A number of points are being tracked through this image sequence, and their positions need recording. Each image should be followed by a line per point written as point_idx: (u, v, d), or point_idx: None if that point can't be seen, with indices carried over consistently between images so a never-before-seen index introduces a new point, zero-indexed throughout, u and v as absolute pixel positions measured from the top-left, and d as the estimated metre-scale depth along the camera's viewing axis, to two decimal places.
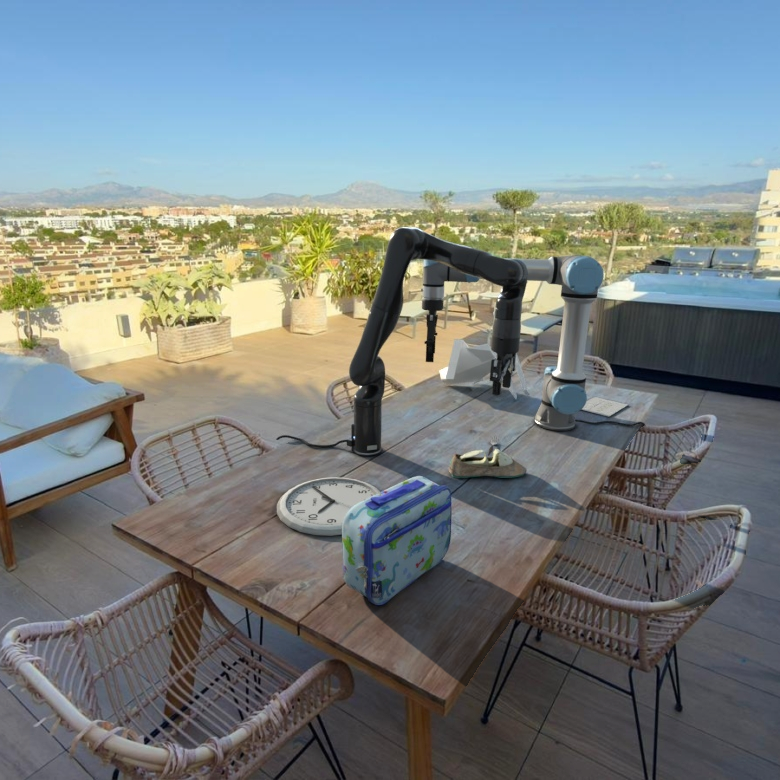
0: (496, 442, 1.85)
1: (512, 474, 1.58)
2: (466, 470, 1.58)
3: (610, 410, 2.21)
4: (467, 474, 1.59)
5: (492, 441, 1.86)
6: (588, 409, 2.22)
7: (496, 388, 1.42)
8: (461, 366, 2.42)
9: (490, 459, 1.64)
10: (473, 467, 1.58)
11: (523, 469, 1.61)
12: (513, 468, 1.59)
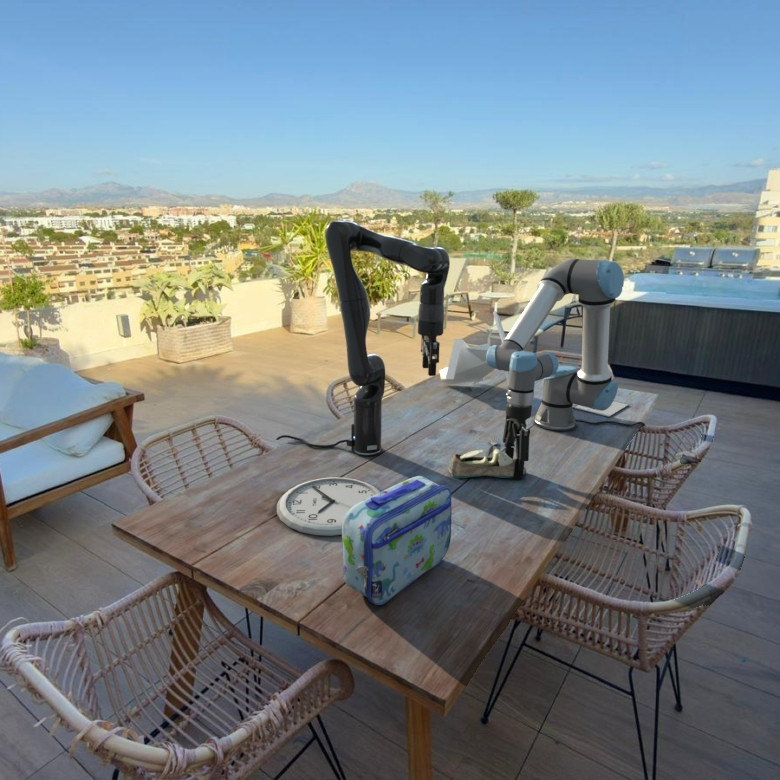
0: (496, 442, 1.85)
1: (512, 474, 1.59)
2: (466, 470, 1.58)
3: (610, 410, 2.21)
4: (467, 474, 1.59)
5: (492, 441, 1.86)
6: (588, 409, 2.22)
7: (433, 369, 1.52)
8: (461, 366, 2.42)
9: (490, 459, 1.64)
10: (473, 467, 1.58)
11: None
12: (513, 468, 1.59)
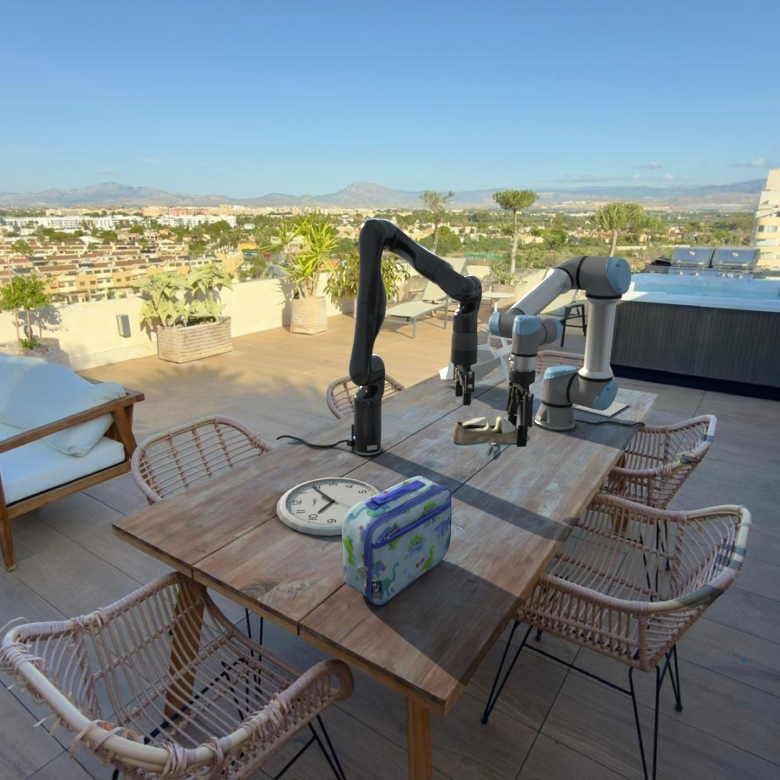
0: None
1: (515, 441, 1.55)
2: (468, 437, 1.55)
3: (610, 410, 2.21)
4: (469, 441, 1.55)
5: None
6: (588, 409, 2.22)
7: (469, 398, 1.49)
8: None
9: (493, 427, 1.61)
10: (475, 434, 1.55)
11: None
12: None
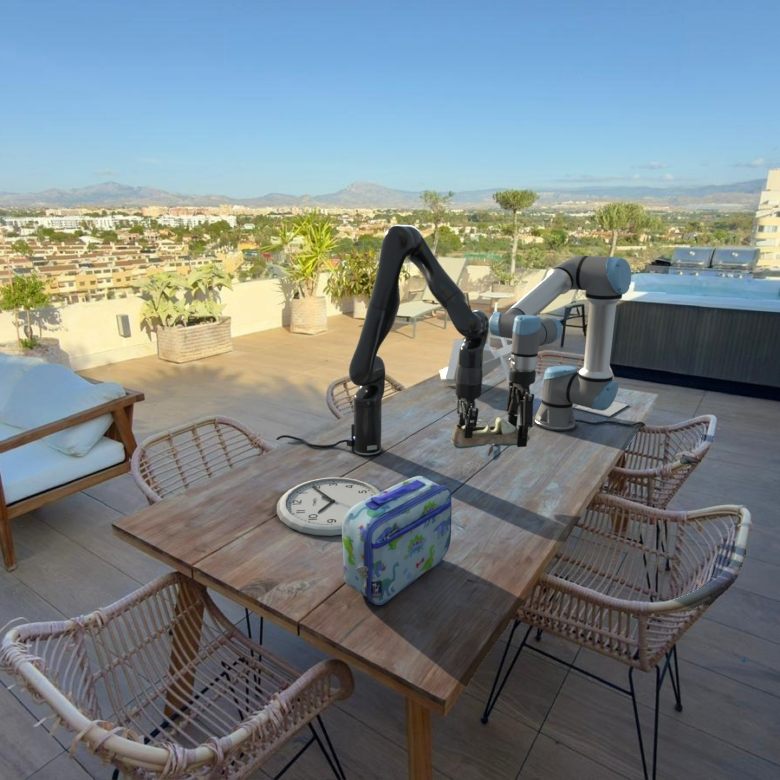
0: None
1: (516, 441, 1.55)
2: (469, 440, 1.55)
3: (610, 410, 2.21)
4: (470, 444, 1.55)
5: None
6: (588, 409, 2.22)
7: (470, 432, 1.52)
8: None
9: (492, 428, 1.61)
10: (476, 436, 1.55)
11: None
12: (517, 436, 1.56)
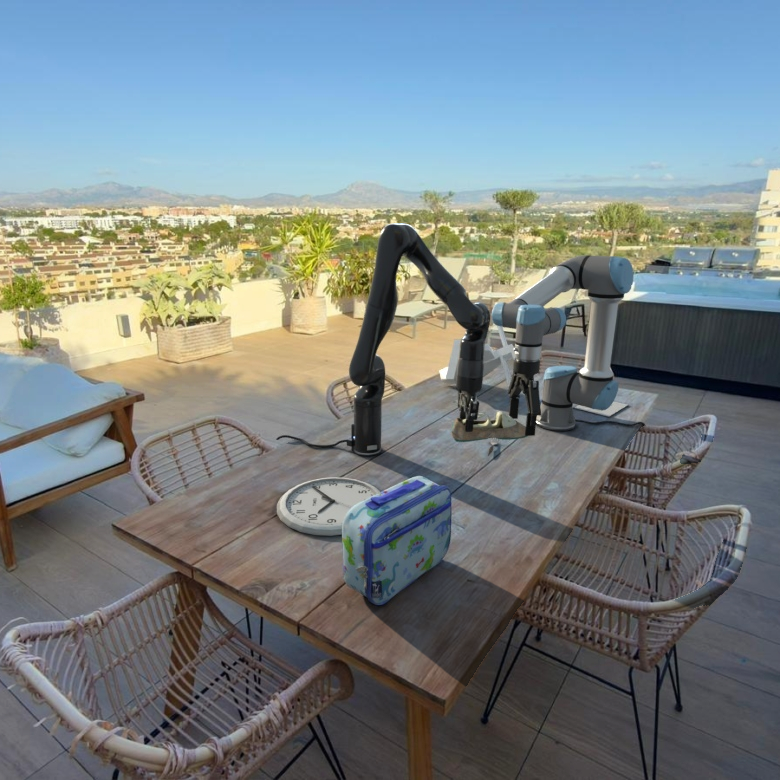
0: (496, 442, 1.85)
1: (516, 435, 1.54)
2: (469, 433, 1.54)
3: (610, 410, 2.21)
4: (470, 438, 1.54)
5: (492, 441, 1.86)
6: (588, 409, 2.22)
7: (471, 425, 1.51)
8: None
9: (493, 422, 1.60)
10: (476, 430, 1.54)
11: None
12: (518, 430, 1.55)
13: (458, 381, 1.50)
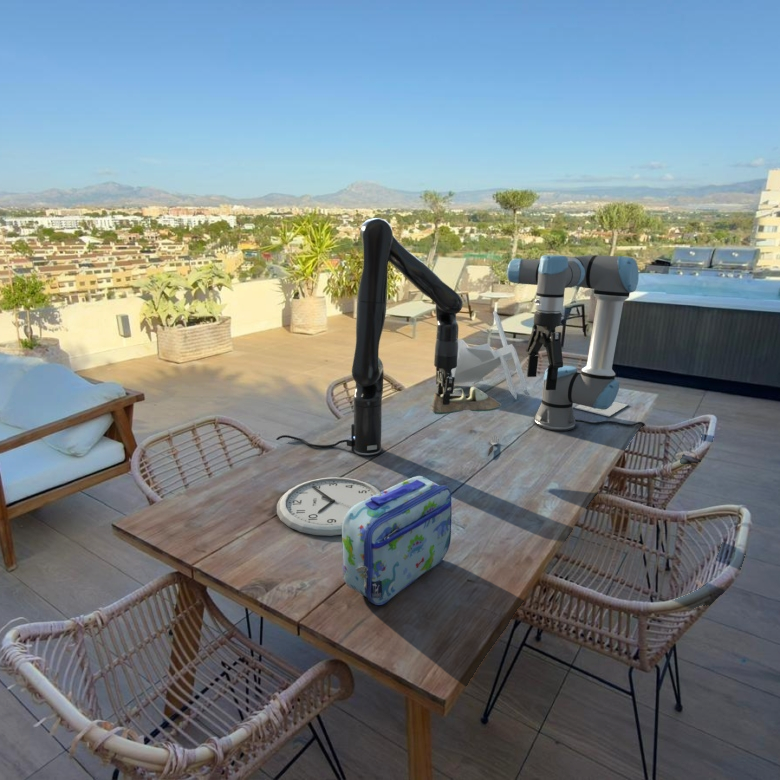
0: (496, 442, 1.85)
1: (488, 407, 1.76)
2: (446, 406, 1.74)
3: (610, 410, 2.21)
4: (448, 410, 1.75)
5: (492, 441, 1.86)
6: (588, 409, 2.22)
7: (448, 399, 1.72)
8: (461, 366, 2.42)
9: (467, 397, 1.81)
10: (453, 403, 1.74)
11: (497, 403, 1.78)
12: (489, 402, 1.76)
13: (436, 360, 1.71)
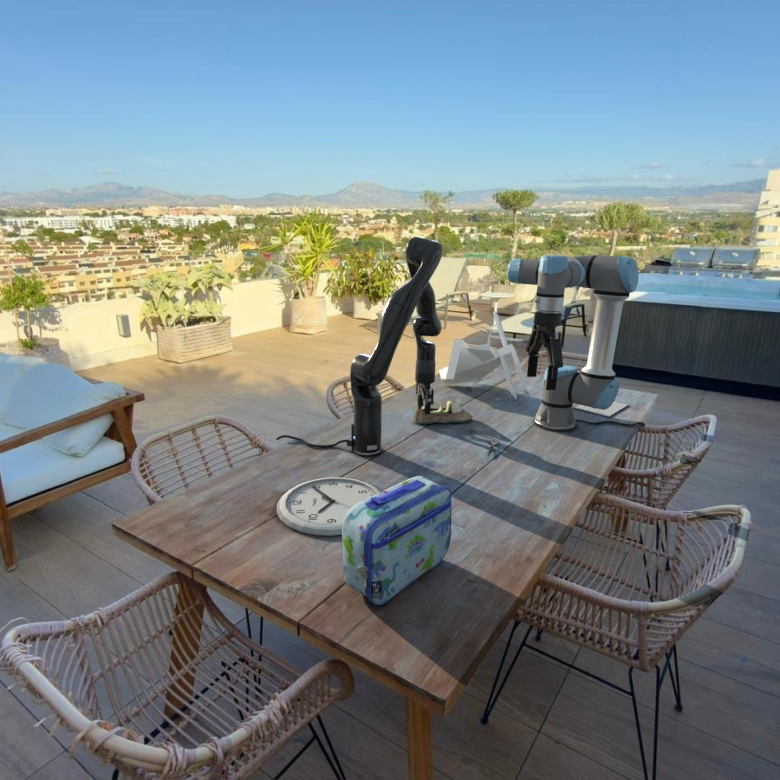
0: (496, 442, 1.85)
1: (462, 419, 2.03)
2: (427, 417, 2.01)
3: (610, 410, 2.21)
4: (427, 421, 2.02)
5: (492, 441, 1.86)
6: (588, 409, 2.22)
7: (429, 409, 1.97)
8: (461, 366, 2.42)
9: (444, 409, 2.08)
10: (432, 415, 2.01)
11: (470, 415, 2.06)
12: (463, 415, 2.04)
13: (416, 376, 1.97)
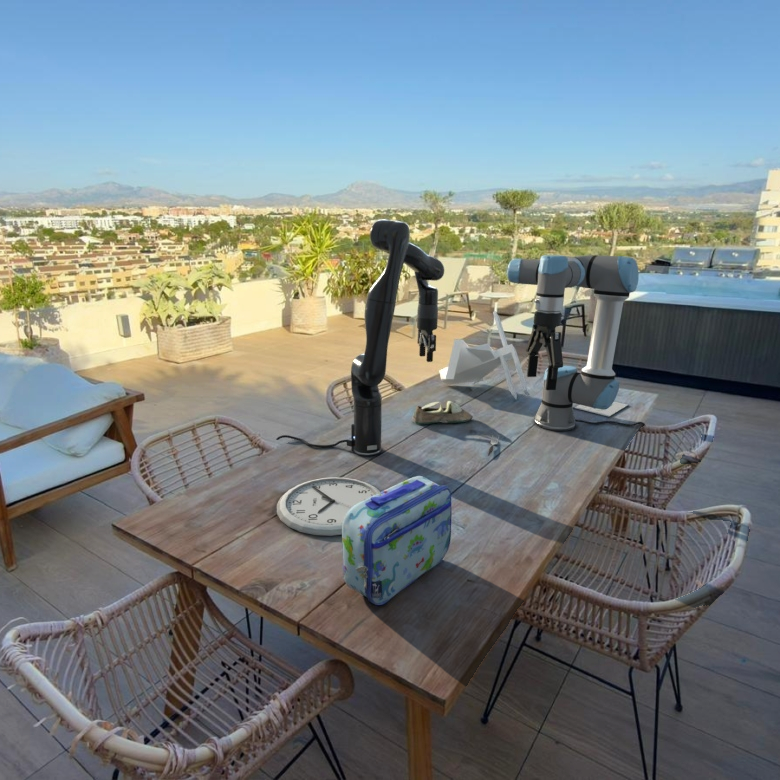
0: (496, 442, 1.85)
1: (462, 419, 2.03)
2: (427, 417, 2.01)
3: (610, 410, 2.21)
4: (427, 421, 2.02)
5: (492, 441, 1.86)
6: (588, 409, 2.22)
7: (431, 356, 1.91)
8: (461, 366, 2.42)
9: (444, 409, 2.08)
10: (432, 415, 2.01)
11: (470, 415, 2.06)
12: (463, 415, 2.04)
13: (418, 322, 1.91)
